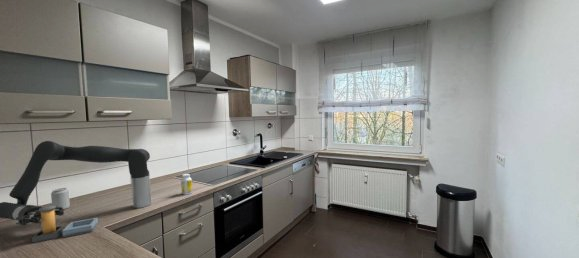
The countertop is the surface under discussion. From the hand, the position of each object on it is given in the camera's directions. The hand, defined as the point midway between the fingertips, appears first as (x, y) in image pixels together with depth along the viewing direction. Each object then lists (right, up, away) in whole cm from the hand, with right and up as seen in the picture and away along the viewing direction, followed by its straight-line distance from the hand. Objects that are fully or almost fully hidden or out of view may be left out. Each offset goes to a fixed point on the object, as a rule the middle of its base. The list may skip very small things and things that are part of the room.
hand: (50, 216), depth 104 cm
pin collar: (-2, -9, +1) cm, 9 cm away
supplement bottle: (+36, -5, +56) cm, 67 cm away
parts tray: (+8, -8, +6) cm, 13 cm away
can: (-30, -9, +36) cm, 48 cm away
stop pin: (-2, -9, +1) cm, 9 cm away
